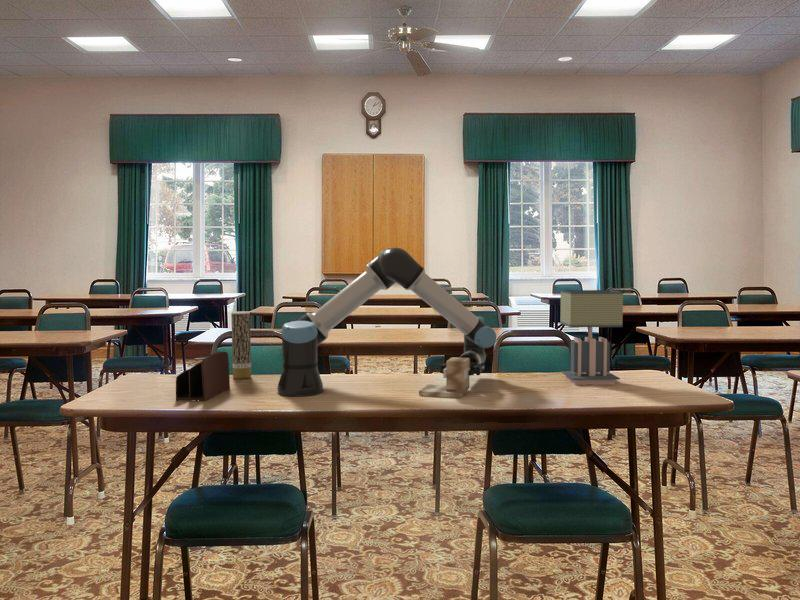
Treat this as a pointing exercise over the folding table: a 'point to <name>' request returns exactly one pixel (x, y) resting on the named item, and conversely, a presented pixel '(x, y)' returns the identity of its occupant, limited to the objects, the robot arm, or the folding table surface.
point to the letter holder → (204, 378)
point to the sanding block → (457, 374)
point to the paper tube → (241, 344)
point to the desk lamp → (591, 312)
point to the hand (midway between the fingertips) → (454, 374)
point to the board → (439, 391)
